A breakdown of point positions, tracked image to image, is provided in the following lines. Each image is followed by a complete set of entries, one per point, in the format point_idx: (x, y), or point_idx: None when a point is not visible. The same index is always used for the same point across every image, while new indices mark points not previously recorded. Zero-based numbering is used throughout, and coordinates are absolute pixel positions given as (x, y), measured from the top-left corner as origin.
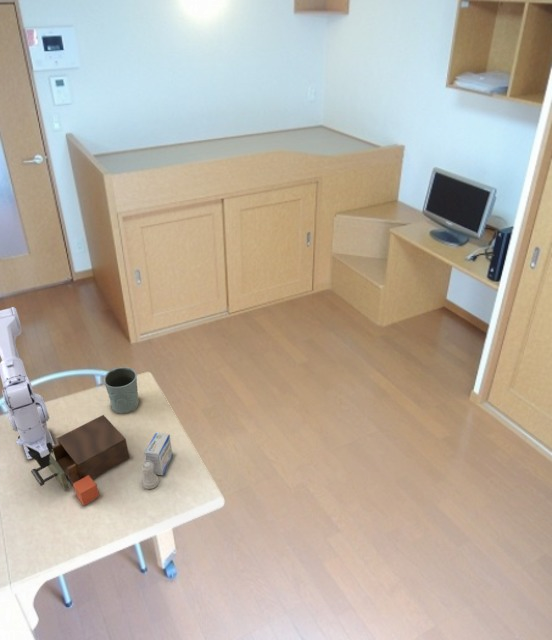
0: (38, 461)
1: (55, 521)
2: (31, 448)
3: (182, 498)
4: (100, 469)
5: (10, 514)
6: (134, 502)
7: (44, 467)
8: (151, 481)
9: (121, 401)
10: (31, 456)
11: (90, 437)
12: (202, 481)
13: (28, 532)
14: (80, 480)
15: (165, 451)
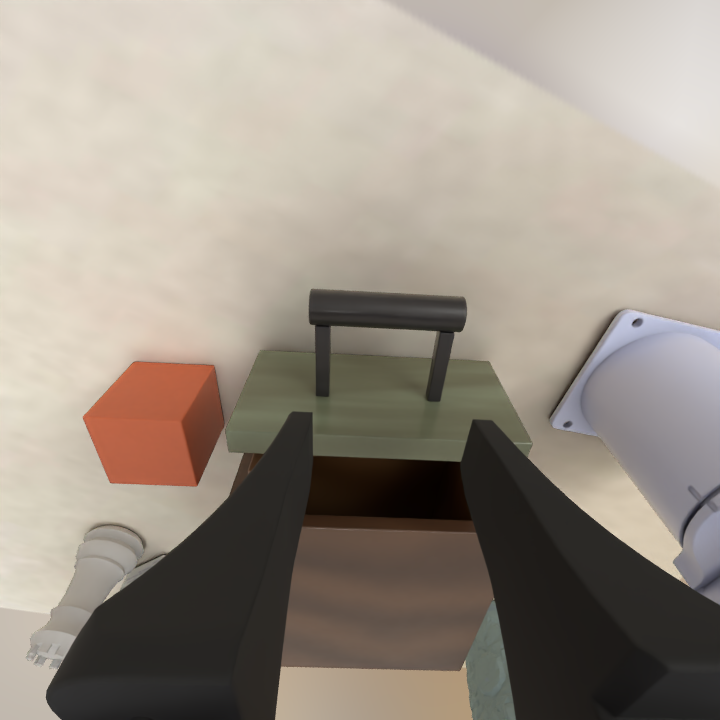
0: (233, 498)
1: (101, 221)
2: (508, 504)
3: (6, 561)
4: None
5: (320, 14)
6: (54, 481)
7: (430, 368)
8: (75, 568)
9: (487, 679)
10: (75, 659)
11: (371, 612)
12: (51, 607)
13: (90, 46)
14: (180, 452)
15: None
